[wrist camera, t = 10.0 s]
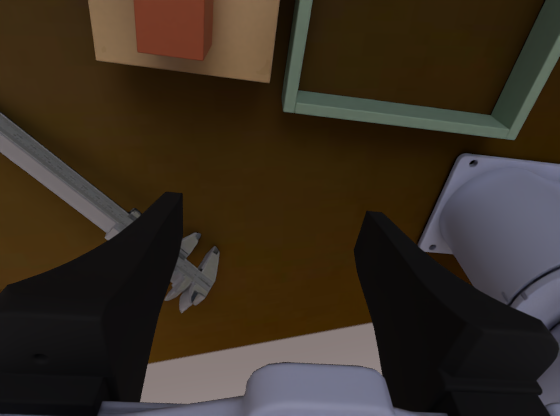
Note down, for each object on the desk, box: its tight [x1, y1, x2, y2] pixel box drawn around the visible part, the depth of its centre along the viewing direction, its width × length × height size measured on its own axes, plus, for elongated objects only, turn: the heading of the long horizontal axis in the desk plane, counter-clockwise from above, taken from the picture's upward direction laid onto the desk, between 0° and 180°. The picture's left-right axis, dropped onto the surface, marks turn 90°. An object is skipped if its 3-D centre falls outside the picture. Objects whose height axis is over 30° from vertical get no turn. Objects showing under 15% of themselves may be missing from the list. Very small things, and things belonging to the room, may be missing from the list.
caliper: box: [0, 112, 220, 313], centre depth 21 cm, size 20×1×6 cm, turn 46°
